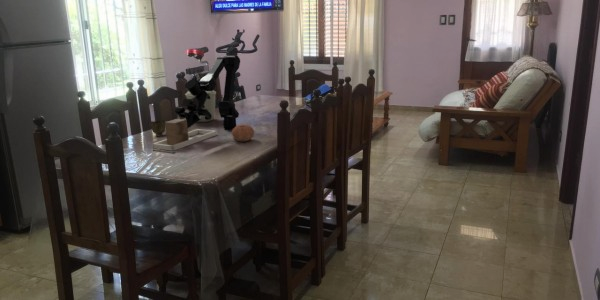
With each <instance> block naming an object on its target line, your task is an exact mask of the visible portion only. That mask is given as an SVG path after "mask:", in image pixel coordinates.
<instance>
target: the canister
mask: <svg viewBox="0 0 600 300" xmlns="http://www.w3.org/2000/svg"><path fill="white" fill-rule="evenodd" d="M206 92H207V93H208V94H209V96H210V99H206V101H205V104H204V106H205V108H202V109H207V110H208V111H209V112H210V113H211V115H212V117H211V119H210V120H206V119H205V116H202V117H201V118H200V119H201V120H200V121H198V122H197V123H206V122H212V121H213V120H214V119H215V115H216V114H215V113H216V95H217V91H215V90H213V91H206ZM184 95H185V97H186V99H192V98H194V97H195V96H193V95H192V94H191V93H190V92H189V91H188V90H187V92H186V93H184Z"/></svg>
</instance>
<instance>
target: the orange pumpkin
mask: <svg viewBox="0 0 600 300" xmlns="http://www.w3.org/2000/svg"><path fill="white" fill-rule="evenodd" d="M231 130H232V131H231V136H232V138H233V139H234V140H236V141H238V142H243V143H244V142H248V141H250V140H252V139H253V138H254V135H255V130H254V129H253V127H252V126H250V125H248V124H240V125H236V127H235V128H234V129H231Z"/></svg>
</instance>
